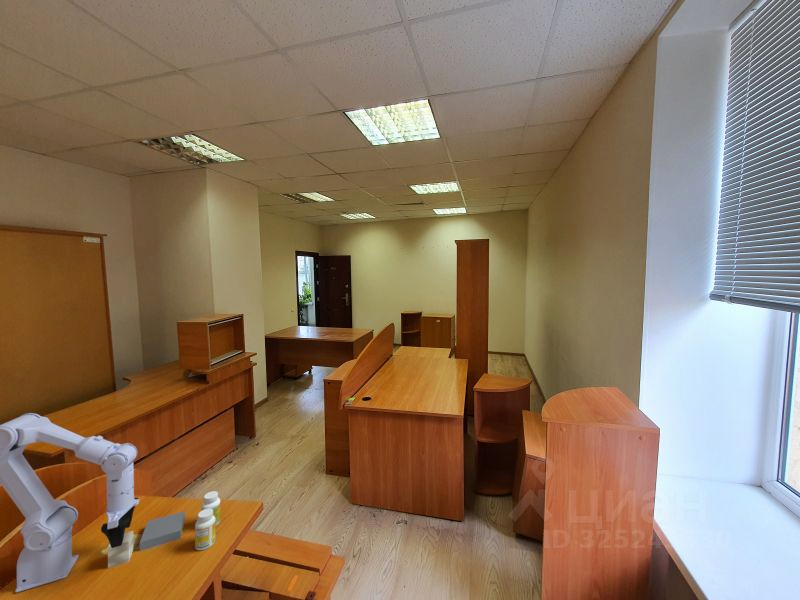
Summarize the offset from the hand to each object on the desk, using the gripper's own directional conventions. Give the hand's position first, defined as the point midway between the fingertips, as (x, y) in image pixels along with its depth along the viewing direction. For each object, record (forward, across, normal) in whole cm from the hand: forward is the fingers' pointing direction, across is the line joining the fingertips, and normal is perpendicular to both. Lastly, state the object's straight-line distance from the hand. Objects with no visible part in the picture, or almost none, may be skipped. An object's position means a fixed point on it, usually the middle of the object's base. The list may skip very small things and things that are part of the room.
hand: (121, 536), depth 89 cm
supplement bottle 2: (+7, -5, -21) cm, 23 cm away
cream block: (+7, 0, 0) cm, 7 cm away
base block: (+7, +6, -9) cm, 13 cm away
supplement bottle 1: (+7, +4, -22) cm, 23 cm away
